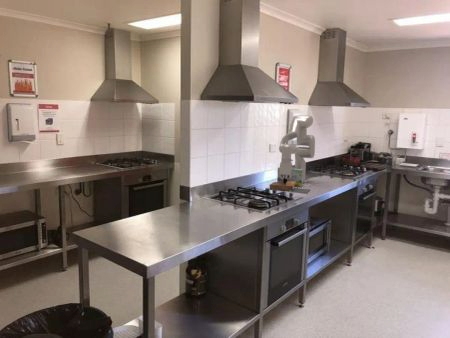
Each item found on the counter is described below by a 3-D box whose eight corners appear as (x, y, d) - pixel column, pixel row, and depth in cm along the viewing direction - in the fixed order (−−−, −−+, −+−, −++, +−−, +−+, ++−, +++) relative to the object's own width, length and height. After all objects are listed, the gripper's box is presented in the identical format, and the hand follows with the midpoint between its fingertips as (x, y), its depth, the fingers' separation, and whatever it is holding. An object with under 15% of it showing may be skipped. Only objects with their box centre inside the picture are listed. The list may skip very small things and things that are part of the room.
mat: (294, 188, 301) (294, 187, 301) (310, 189, 296) (310, 189, 296) (290, 191, 286) (290, 191, 286) (307, 193, 281) (307, 193, 281)
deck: (273, 186, 306) (274, 181, 306) (293, 188, 300) (293, 183, 300) (269, 189, 293) (269, 184, 293) (289, 191, 287) (289, 186, 287)
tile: (288, 183, 299) (288, 180, 298) (295, 184, 297) (295, 181, 296) (285, 185, 290) (286, 182, 290) (293, 186, 288) (293, 183, 288)
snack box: (276, 185, 315) (277, 167, 313) (278, 184, 320) (279, 166, 317) (301, 187, 305) (301, 169, 303) (302, 186, 310) (303, 168, 308)
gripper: (296, 160, 293) (295, 183, 296) (278, 159, 299) (277, 181, 301) (294, 161, 286) (293, 184, 289) (275, 160, 292) (274, 183, 294)
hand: (285, 183), depth 295 cm, fingers closed
